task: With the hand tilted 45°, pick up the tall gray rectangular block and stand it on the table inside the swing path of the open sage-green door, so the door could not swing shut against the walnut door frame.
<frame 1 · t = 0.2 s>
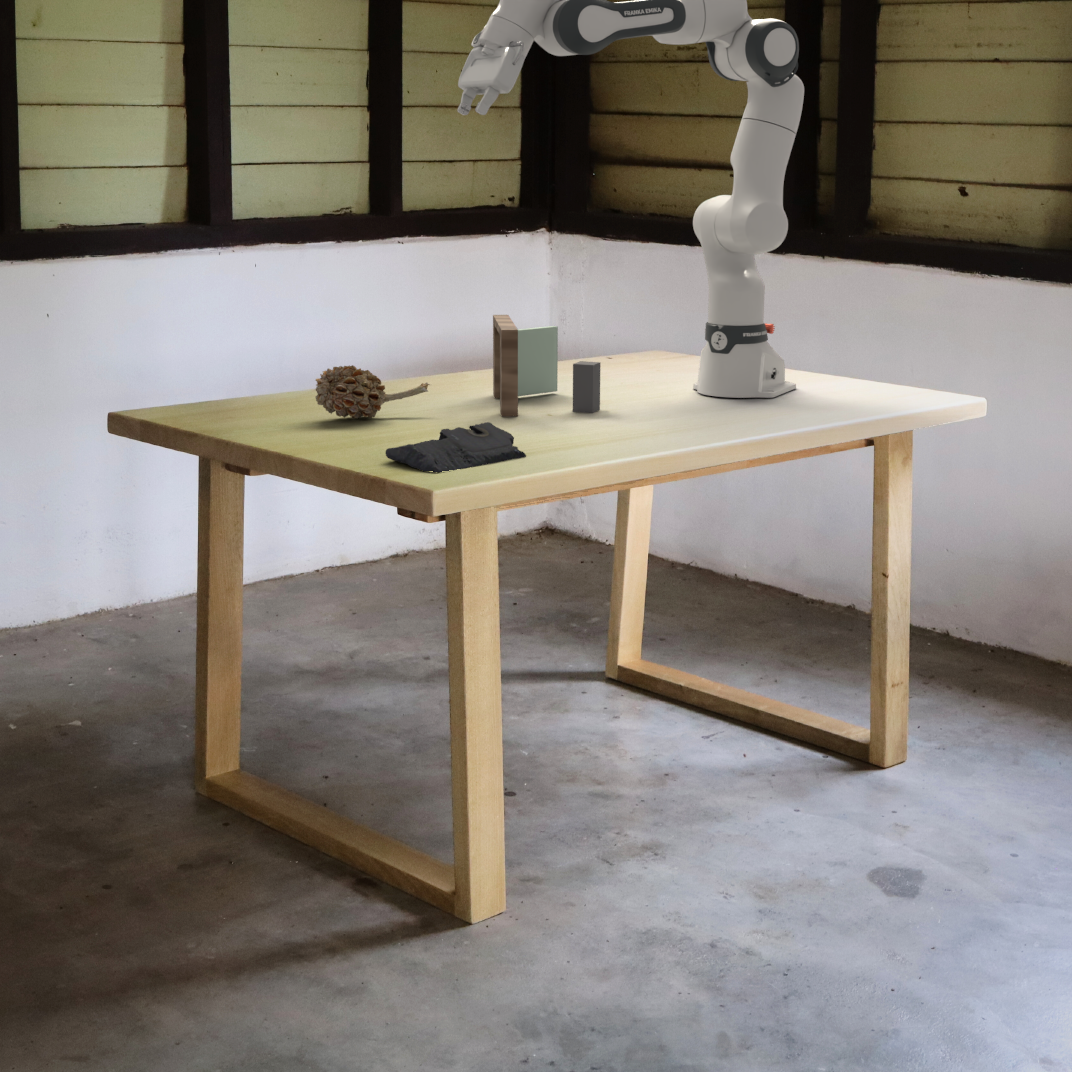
hand: (470, 113, 272), 54 cm above the table, tool tilted 30°, fingers open, 8 cm apart
dark slate chunk: (454, 461, 243), on the table
gray rectangular block: (586, 410, 286), on the table
door frame: (503, 400, 297), on the table
dried seed pod: (373, 418, 278), on the table
door: (528, 361, 300), point 7 cm above the table, hinge at 125.0°
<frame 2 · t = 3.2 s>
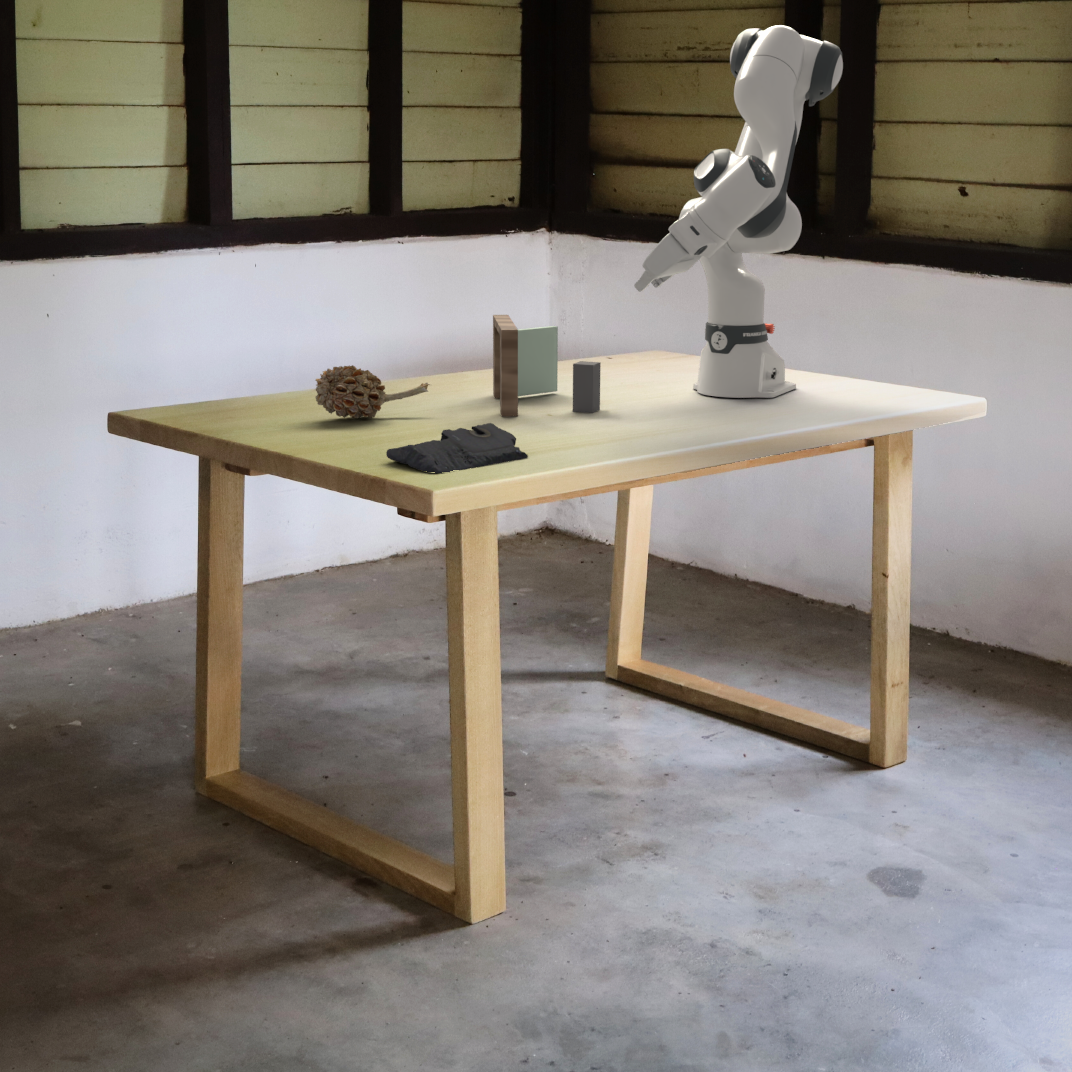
hand: (646, 286, 276), 24 cm above the table, tool tilted 45°, fingers open, 8 cm apart
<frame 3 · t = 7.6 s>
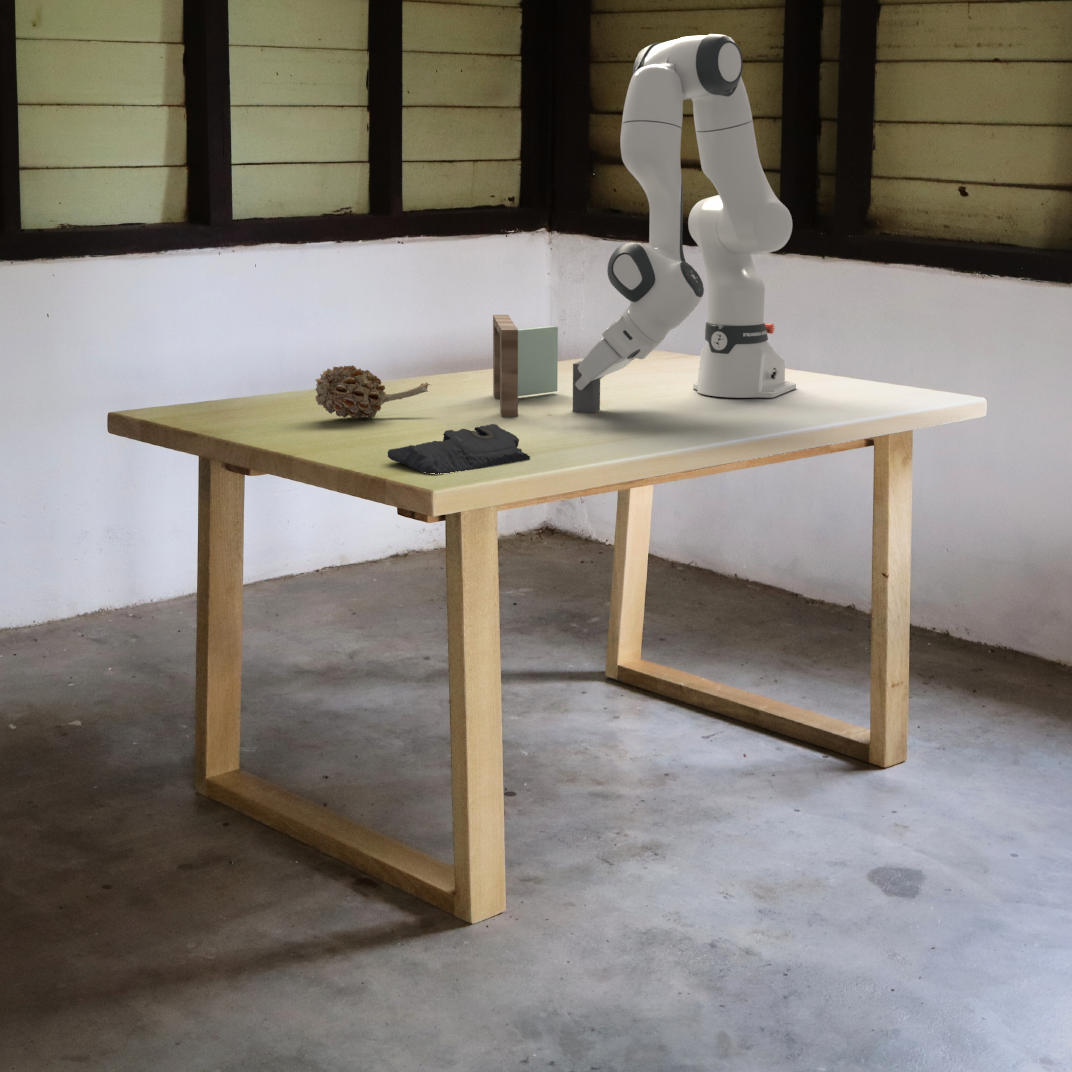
hand: (583, 385, 285), 5 cm above the table, tool tilted 45°, fingers closed on gray rectangular block, 4 cm apart
gray rectangular block: (586, 410, 286), on the table, touching gripper
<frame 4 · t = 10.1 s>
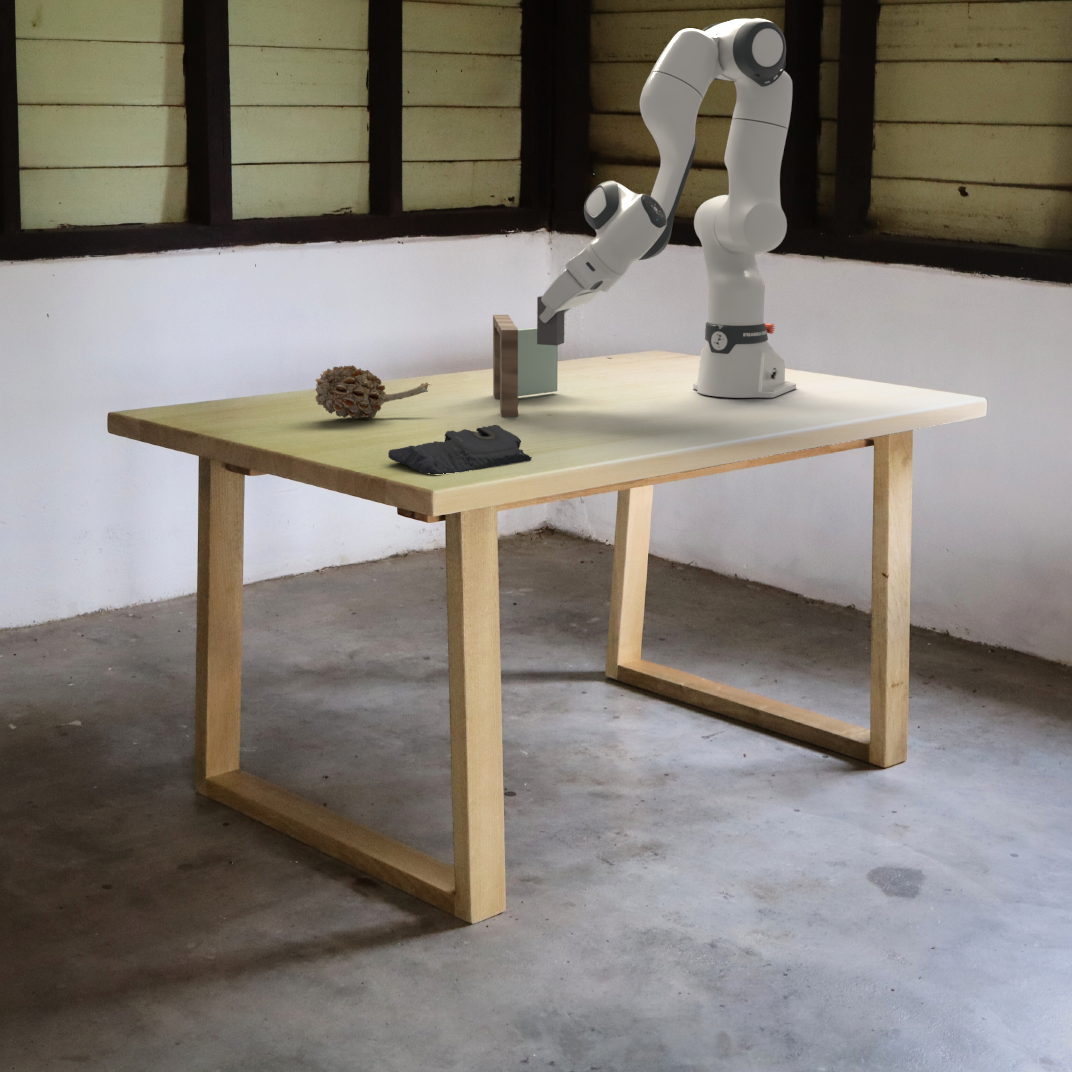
hand: (548, 318, 289), 16 cm above the table, tool tilted 45°, fingers closed on gray rectangular block, 4 cm apart
gray rectangular block: (550, 343, 290), point 12 cm above the table, touching gripper
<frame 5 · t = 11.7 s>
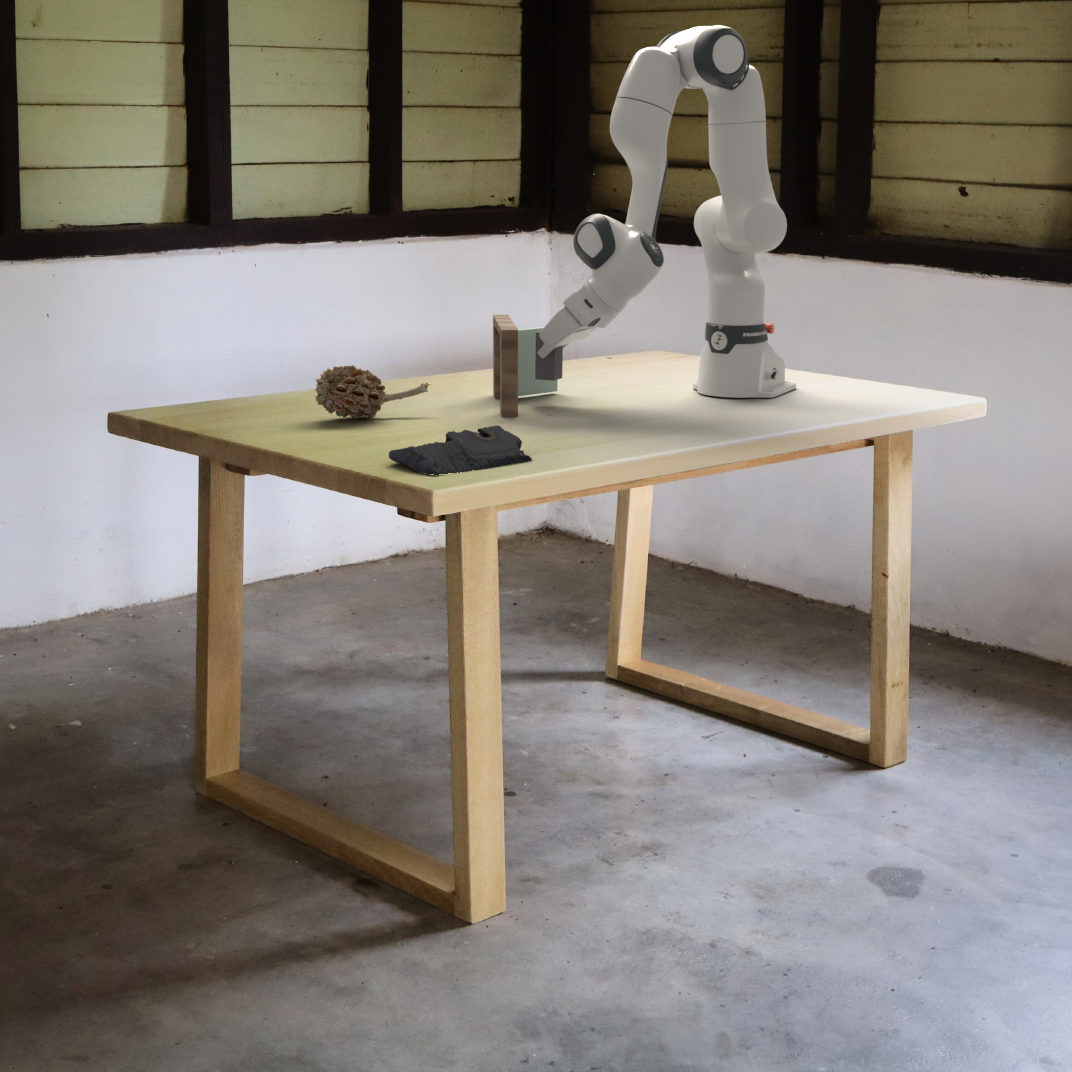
hand: (546, 353, 291), 10 cm above the table, tool tilted 45°, fingers closed on gray rectangular block, 4 cm apart
gray rectangular block: (548, 378, 292), point 5 cm above the table, touching gripper
when the fingers open (6 cm above the table, at t = 12.8 s): gray rectangular block drops 2 cm, on the table.
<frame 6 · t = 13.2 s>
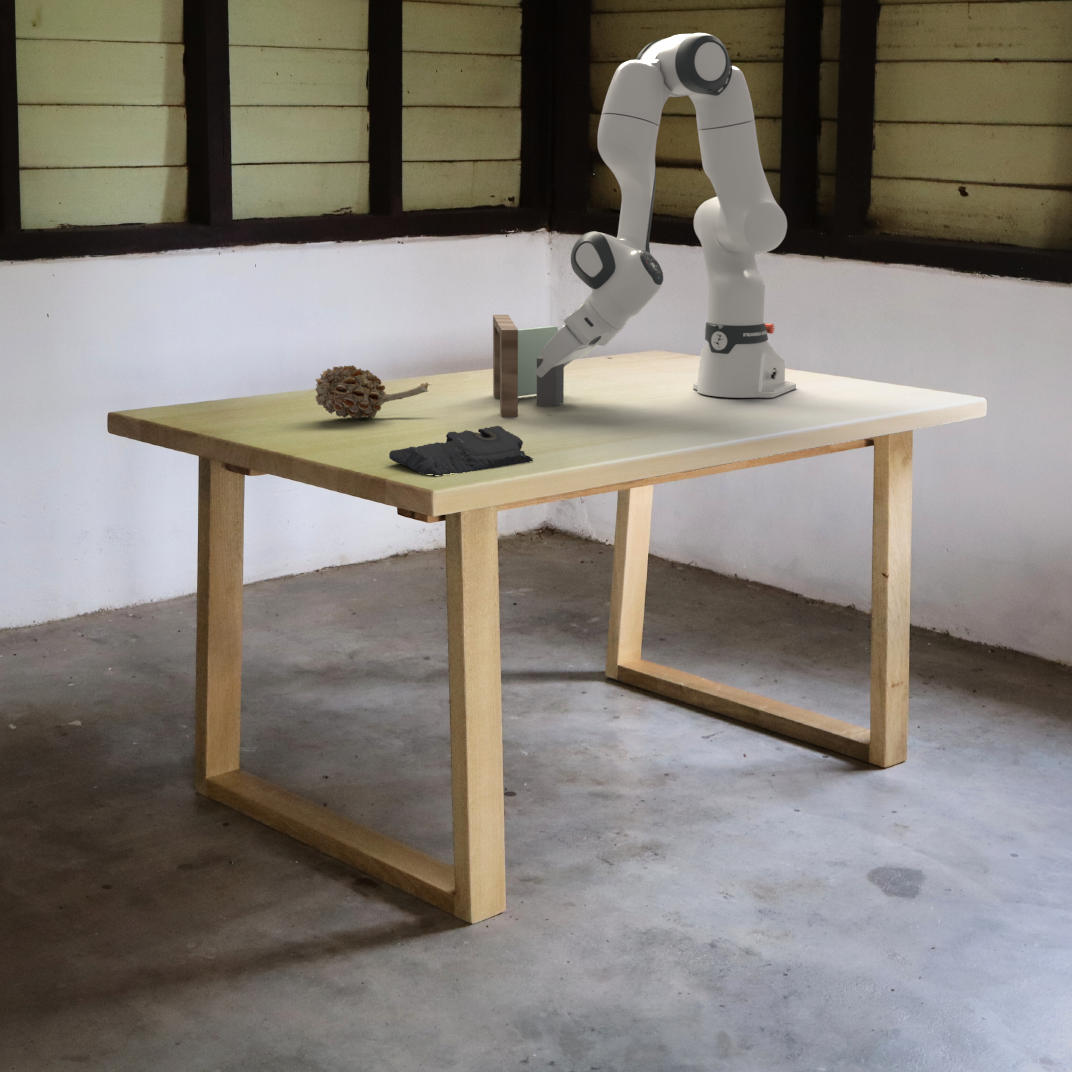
hand: (547, 371, 292), 6 cm above the table, tool tilted 45°, fingers open, 7 cm apart
gray rectangular block: (550, 403, 293), on the table
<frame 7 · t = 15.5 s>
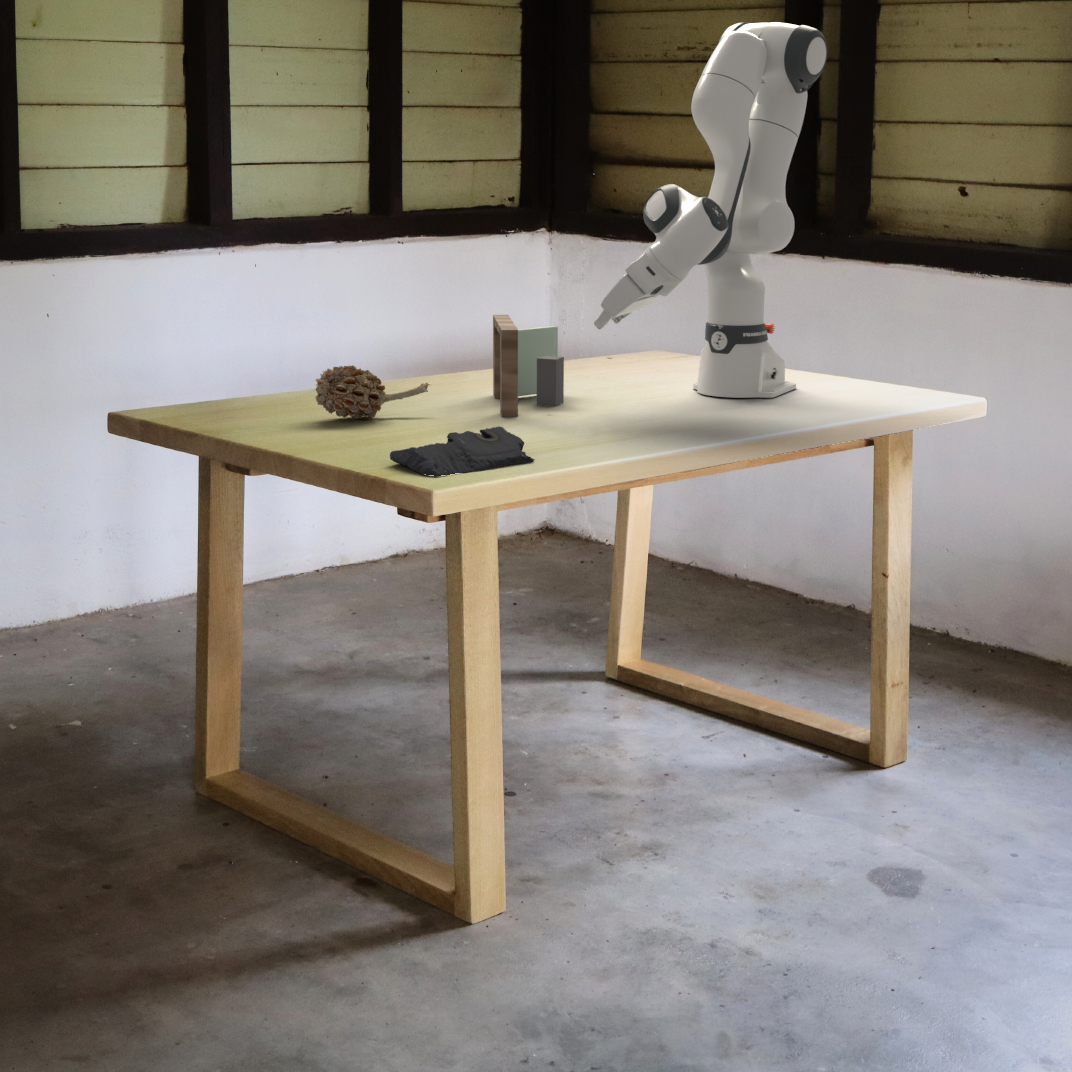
hand: (606, 323, 285), 16 cm above the table, tool tilted 45°, fingers open, 8 cm apart
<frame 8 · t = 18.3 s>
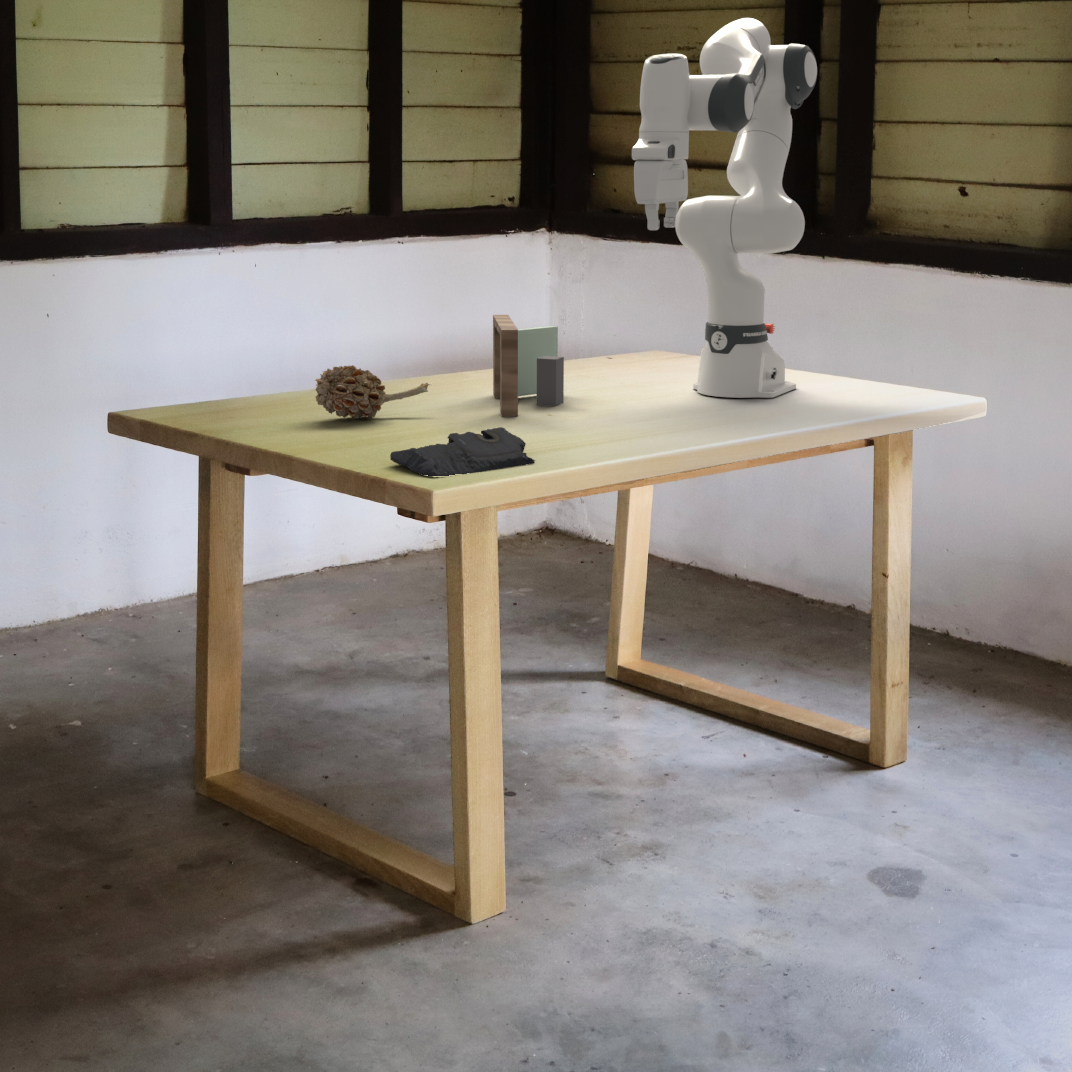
hand: (661, 228, 271), 34 cm above the table, tool pointing down, fingers open, 8 cm apart
at the end: gray rectangular block 0.0 cm from the target spot, on the table; gray rectangular block tilted 0°; door at +125° (first picture: +125°) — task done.
